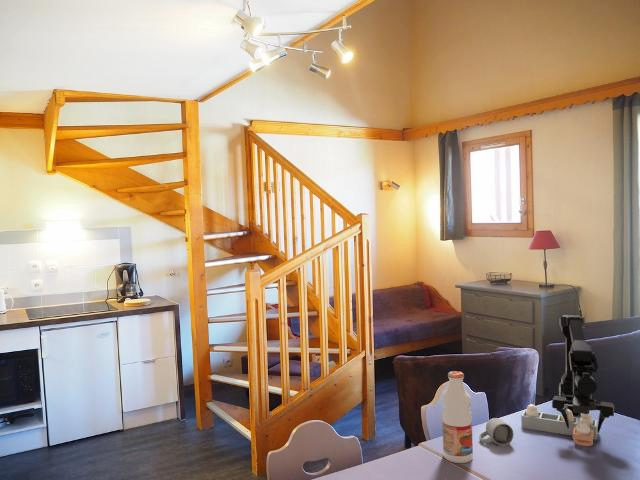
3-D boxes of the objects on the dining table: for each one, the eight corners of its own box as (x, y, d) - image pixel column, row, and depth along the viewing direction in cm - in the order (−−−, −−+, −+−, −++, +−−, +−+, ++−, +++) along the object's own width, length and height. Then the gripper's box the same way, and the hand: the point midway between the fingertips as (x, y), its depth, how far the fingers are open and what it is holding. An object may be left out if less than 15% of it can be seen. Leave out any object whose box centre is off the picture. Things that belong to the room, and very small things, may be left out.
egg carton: (524, 421, 200) (524, 400, 199) (597, 432, 187) (597, 410, 187) (521, 427, 194) (521, 406, 194) (596, 439, 181) (596, 416, 181)
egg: (576, 432, 182) (576, 416, 182) (590, 434, 180) (590, 418, 180) (575, 437, 178) (575, 420, 178) (590, 439, 176) (589, 422, 176)
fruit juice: (447, 449, 178) (445, 367, 177) (475, 454, 173) (473, 370, 172) (439, 460, 170) (437, 375, 169) (468, 466, 165) (466, 378, 164)
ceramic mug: (504, 435, 187) (503, 414, 187) (514, 445, 179) (513, 423, 179) (475, 438, 187) (474, 416, 186) (484, 447, 178) (483, 425, 178)
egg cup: (574, 437, 183) (574, 427, 183) (593, 440, 180) (593, 430, 180) (572, 444, 178) (572, 433, 178) (592, 447, 175) (592, 436, 175)
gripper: (549, 388, 176) (550, 434, 177) (612, 396, 167) (613, 444, 167) (553, 379, 186) (554, 422, 187) (613, 386, 177) (614, 431, 177)
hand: (583, 430), depth 179 cm, fingers open, 9 cm apart
